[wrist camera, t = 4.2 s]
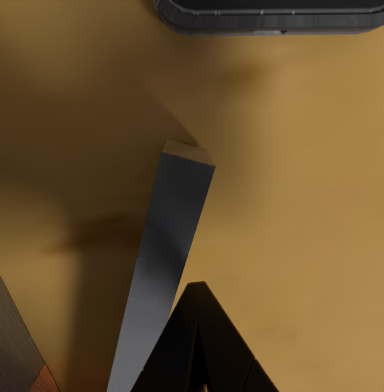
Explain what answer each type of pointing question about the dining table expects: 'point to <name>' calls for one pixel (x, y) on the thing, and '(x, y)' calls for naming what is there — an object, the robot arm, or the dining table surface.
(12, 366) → the bar
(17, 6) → the dining table surface
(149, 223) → the arm
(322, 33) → the phone
